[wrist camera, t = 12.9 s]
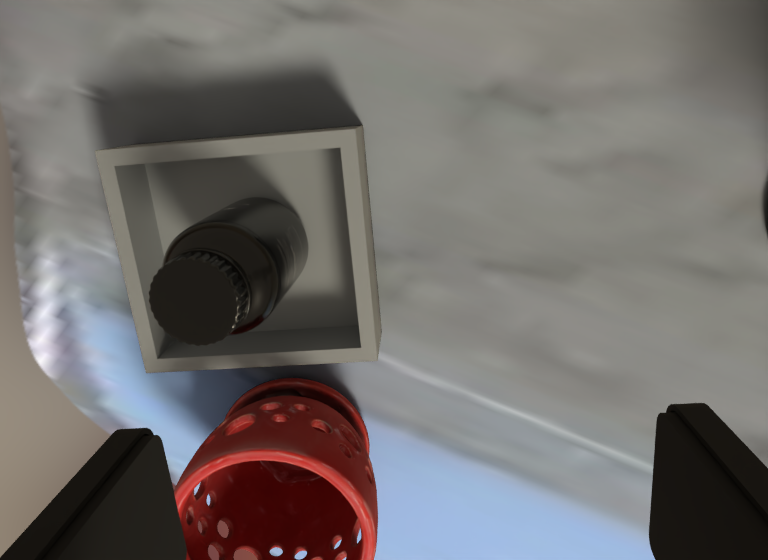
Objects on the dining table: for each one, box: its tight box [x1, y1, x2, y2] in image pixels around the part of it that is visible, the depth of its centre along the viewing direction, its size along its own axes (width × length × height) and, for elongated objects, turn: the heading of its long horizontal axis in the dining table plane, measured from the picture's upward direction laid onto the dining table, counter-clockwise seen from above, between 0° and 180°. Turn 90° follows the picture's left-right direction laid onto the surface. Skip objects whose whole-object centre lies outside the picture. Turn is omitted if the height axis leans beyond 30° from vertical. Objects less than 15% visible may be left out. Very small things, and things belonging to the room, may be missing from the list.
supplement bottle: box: [149, 197, 309, 346], centre depth 34 cm, size 7×7×12 cm
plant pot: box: [174, 378, 378, 560], centre depth 40 cm, size 13×13×12 cm
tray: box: [95, 125, 382, 373], centre depth 38 cm, size 16×15×5 cm
